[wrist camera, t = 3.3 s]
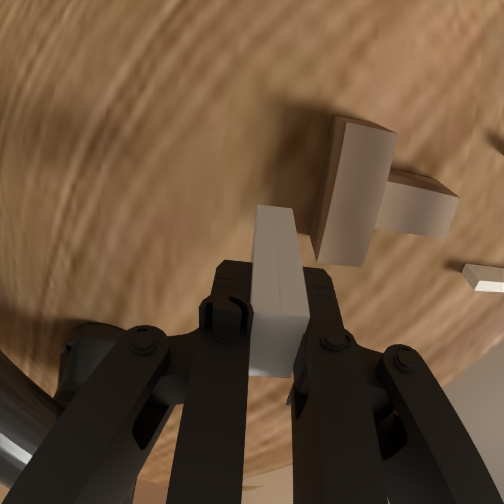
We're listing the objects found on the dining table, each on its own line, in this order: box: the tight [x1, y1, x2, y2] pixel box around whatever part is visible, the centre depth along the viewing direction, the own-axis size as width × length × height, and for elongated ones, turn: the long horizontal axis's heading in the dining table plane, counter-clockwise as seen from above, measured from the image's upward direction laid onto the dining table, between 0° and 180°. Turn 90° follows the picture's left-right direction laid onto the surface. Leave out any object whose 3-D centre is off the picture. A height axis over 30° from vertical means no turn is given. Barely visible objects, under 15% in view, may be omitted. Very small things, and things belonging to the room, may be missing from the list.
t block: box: [310, 114, 460, 267], centre depth 21 cm, size 10×10×4 cm
